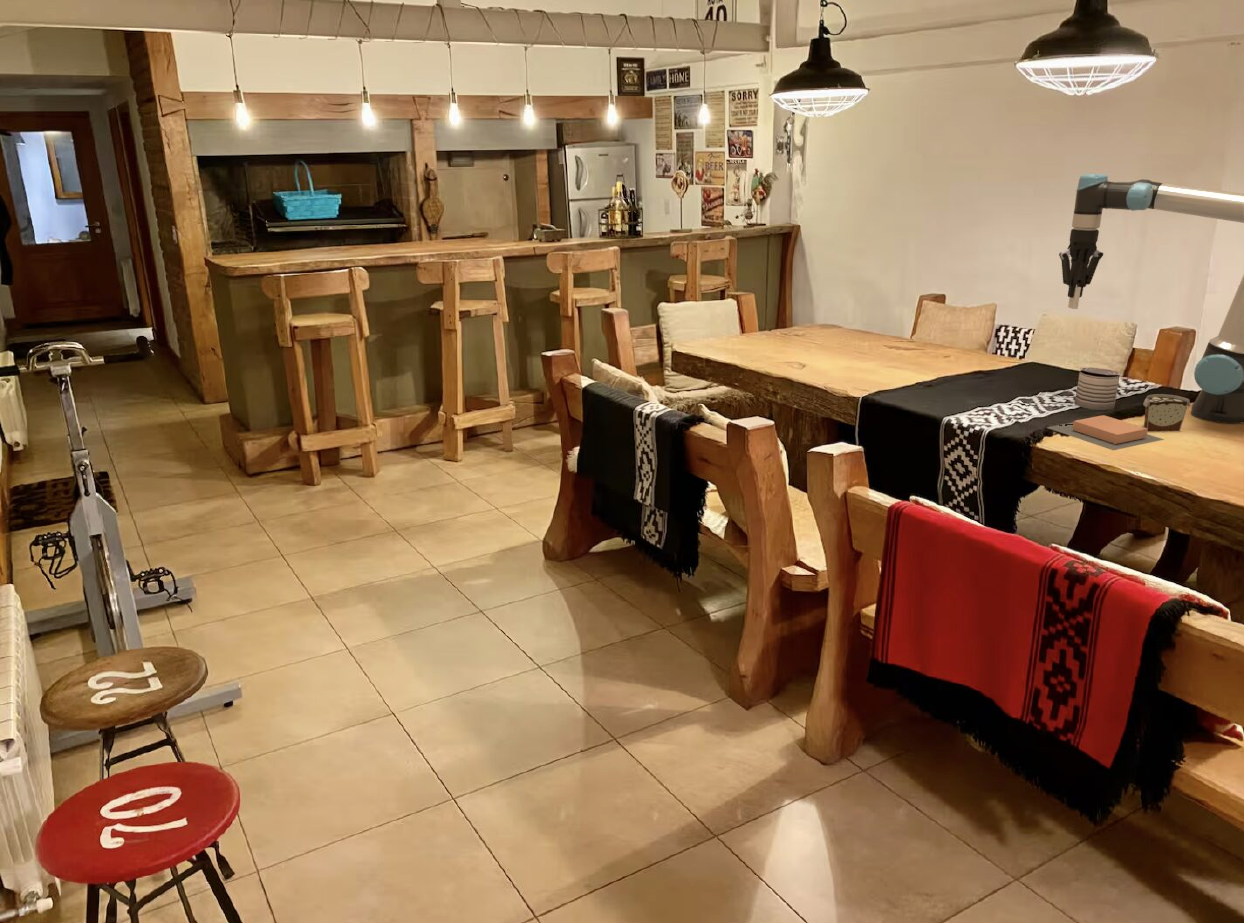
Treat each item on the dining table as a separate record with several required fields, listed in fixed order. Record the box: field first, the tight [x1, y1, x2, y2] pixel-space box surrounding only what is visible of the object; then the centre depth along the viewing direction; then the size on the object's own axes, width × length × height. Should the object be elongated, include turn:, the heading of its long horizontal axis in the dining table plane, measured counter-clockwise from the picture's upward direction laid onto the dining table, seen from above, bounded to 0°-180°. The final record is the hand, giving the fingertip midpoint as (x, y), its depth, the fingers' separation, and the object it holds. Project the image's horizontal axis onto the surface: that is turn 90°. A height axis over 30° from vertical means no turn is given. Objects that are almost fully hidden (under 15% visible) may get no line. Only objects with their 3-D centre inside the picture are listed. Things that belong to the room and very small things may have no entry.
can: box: [1074, 367, 1122, 411], centre depth 285 cm, size 11×11×12 cm
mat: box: [1045, 421, 1165, 451], centre depth 260 cm, size 20×22×1 cm
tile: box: [1072, 414, 1149, 444], centre depth 258 cm, size 12×3×14 cm
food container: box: [1142, 393, 1191, 432], centre depth 263 cm, size 12×6×10 cm, turn 92°
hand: (1072, 307), depth 283 cm, fingers closed
